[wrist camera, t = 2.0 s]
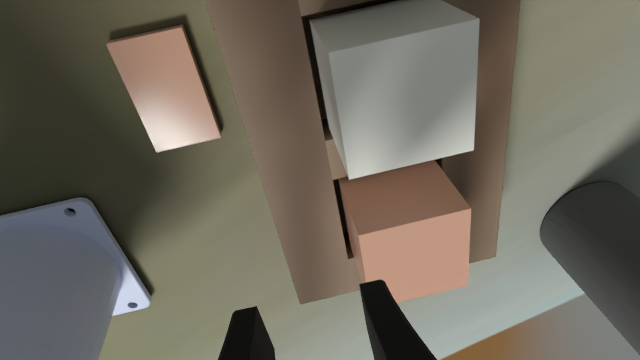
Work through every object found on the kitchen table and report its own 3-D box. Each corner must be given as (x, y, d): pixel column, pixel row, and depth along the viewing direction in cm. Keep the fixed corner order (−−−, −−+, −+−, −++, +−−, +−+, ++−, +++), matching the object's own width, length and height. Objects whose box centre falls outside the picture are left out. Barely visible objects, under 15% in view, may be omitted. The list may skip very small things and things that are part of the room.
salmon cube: (350, 247, 21) (370, 309, 18) (338, 177, 19) (358, 235, 16) (433, 227, 22) (467, 285, 18) (431, 155, 19) (471, 208, 16)
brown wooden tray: (294, 264, 25) (300, 304, 22) (111, -343, 11) (75, -412, 9) (470, 222, 25) (495, 256, 23) (499, -419, 12) (568, -506, 9)
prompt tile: (158, 147, 19) (156, 152, 19) (109, 40, 17) (105, 44, 16) (221, 132, 19) (220, 137, 19) (183, 24, 17) (181, 27, 16)
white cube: (329, 127, 17) (349, 179, 14) (309, 20, 15) (328, 52, 12) (430, 104, 18) (473, 150, 14) (427, -7, 15) (479, 18, 12)
